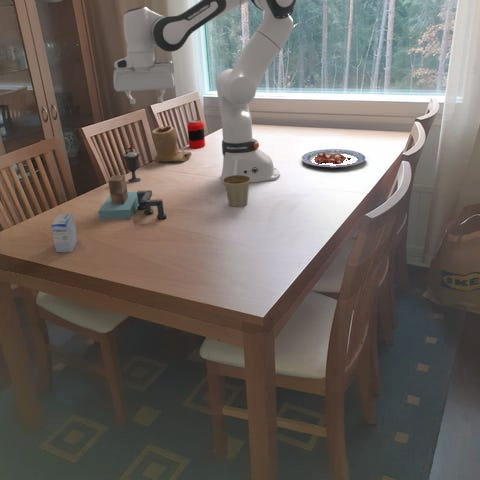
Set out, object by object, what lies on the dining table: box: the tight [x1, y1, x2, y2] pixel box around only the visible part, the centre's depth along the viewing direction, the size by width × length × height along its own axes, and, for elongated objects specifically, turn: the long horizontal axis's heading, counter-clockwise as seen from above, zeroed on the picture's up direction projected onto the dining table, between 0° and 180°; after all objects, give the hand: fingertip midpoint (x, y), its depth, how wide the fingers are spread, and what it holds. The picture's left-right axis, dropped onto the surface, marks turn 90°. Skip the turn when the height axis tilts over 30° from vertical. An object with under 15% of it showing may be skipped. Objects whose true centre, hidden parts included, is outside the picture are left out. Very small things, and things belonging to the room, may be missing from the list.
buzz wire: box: [136, 189, 167, 221], centre depth 165 cm, size 11×12×6 cm
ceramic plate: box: [300, 148, 367, 168], centre depth 209 cm, size 26×26×3 cm
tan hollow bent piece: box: [151, 125, 192, 163], centre depth 219 cm, size 15×12×15 cm
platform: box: [97, 191, 139, 221], centre depth 171 cm, size 10×17×3 cm, turn 179°
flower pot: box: [221, 175, 251, 208], centre depth 169 cm, size 9×9×9 cm
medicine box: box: [50, 213, 79, 253], centre depth 144 cm, size 8×4×9 cm, turn 5°
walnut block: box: [107, 174, 128, 204], centre depth 168 cm, size 4×6×8 cm, turn 179°
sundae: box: [121, 142, 142, 183], centre depth 196 cm, size 7×7×15 cm
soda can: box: [186, 119, 206, 150], centre depth 240 cm, size 8×8×12 cm
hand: (146, 103), depth 175 cm, fingers open, 8 cm apart
